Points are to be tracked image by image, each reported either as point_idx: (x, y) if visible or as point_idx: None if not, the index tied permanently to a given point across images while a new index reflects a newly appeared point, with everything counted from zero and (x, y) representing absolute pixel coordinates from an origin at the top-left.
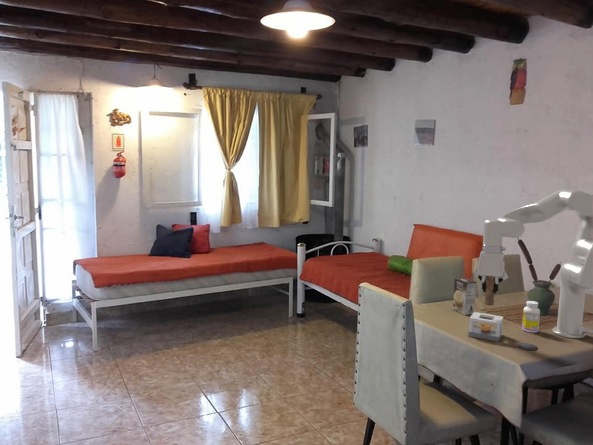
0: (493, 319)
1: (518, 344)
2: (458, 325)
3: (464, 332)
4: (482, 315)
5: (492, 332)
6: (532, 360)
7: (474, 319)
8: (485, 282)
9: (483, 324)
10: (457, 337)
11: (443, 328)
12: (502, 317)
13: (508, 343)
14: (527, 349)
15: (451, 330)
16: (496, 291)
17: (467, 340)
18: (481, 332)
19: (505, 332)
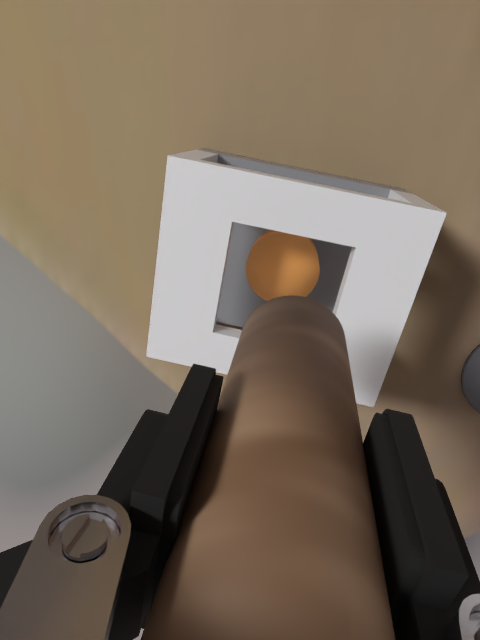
0: None
1: (469, 365)
2: (100, 83)
3: (156, 236)
4: (248, 224)
5: (329, 275)
6: (475, 530)
7: (185, 360)
8: (155, 569)
9: (265, 253)
10: (128, 341)
11: (23, 205)
12: (431, 245)
13: (412, 347)
14: None
15: (76, 227)
16: (408, 425)
17: (183, 370)
18: (255, 301)
19: (447, 114)
